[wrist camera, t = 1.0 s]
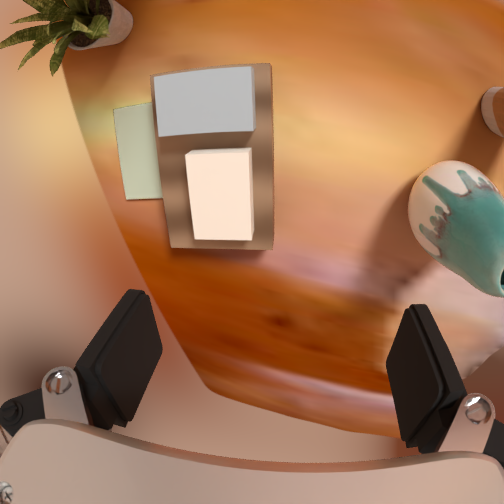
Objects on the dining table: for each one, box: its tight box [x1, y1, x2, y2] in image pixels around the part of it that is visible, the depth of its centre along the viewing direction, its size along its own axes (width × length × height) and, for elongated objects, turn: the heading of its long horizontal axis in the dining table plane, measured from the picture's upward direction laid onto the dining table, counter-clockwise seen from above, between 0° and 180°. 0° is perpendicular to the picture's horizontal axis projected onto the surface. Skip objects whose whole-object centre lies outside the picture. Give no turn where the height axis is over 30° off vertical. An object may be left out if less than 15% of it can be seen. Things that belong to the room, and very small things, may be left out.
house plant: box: [0, 0, 133, 76], centre depth 18 cm, size 14×14×16 cm
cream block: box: [185, 148, 254, 240], centre depth 30 cm, size 9×6×2 cm, turn 2°
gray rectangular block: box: [154, 66, 256, 137], centre depth 25 cm, size 9×6×2 cm, turn 92°
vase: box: [408, 160, 504, 297], centre depth 25 cm, size 12×12×18 cm
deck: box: [150, 63, 274, 250], centre depth 31 cm, size 20×12×4 cm, turn 2°
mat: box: [113, 102, 163, 200], centre depth 33 cm, size 12×7×1 cm, turn 2°
